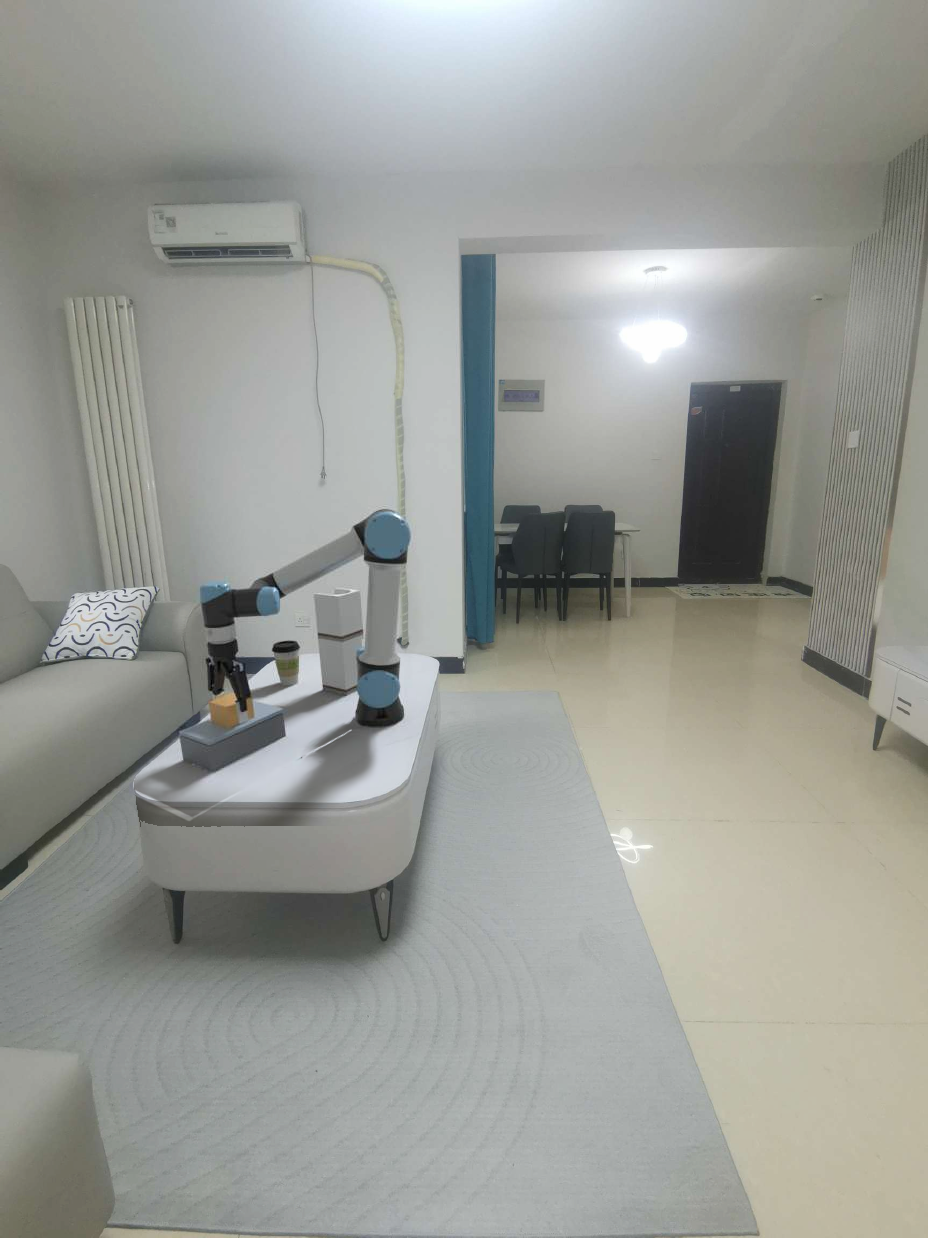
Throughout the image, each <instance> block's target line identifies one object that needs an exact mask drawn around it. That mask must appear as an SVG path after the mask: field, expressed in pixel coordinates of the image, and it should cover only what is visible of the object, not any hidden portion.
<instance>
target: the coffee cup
mask: <svg viewBox="0 0 928 1238" xmlns="http://www.w3.org/2000/svg"><path fill="white" fill-rule="evenodd" d="M300 648H301V647H300V644H299V643H298V641H296V640H281V641H277V642H275V643H273V645H272V648H271V652H273V656H274V662H275V666H276V671H277V673H278V676H279V677H278V678H279V680H280V684H281V685H282V686H285V687H289V685H290V686H294V685H296V683H297V684H299V673H300Z"/></svg>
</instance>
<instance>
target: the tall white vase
mask: <svg viewBox="0 0 928 1238" xmlns="http://www.w3.org/2000/svg"><path fill="white" fill-rule="evenodd" d="M333 590H334V594H328V593H327V594H326V593H319V592H314V593H313V600H314V610H315V622H316V629H317V631H316V632H317V641H318V642H317V643H318V650H319V651H318V652H319V654H318V655H319V662H320V674H321V683H322V686H321V687H322V691H326V692H332V693H335V694H338V695H343V696H348V695H350V694H352V693H355V692H357V675H358V674H357V659H356V652H357V650H358V649H359V648H362V647H363V644H362V643H363V639H365V636H364V626H363V611H362V599H361V598H362V596H361V590H359V589H353V588H352V589H350V588H342V587H334V589H333Z"/></svg>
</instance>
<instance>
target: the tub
mask: <svg viewBox="0 0 928 1238" xmlns="http://www.w3.org/2000/svg"><path fill="white" fill-rule="evenodd" d="M285 724H286V723H285V717H284V712H283V713H280V714H278V715H276V716H274V717H272V718H269V719H267V720H265V721H263V722H261V723H258V724H256V725H254V726H252V727H250V728H247V729H245V730H243V731H241V732H239V733H236V734H234V735H232V736H230V737H228V738H226V739H223V740H221V741H219V742H217V743H215V744H212V745H210V746H209V745H206V744H204V743H201V742H198V741H195V740H193V739H190V738H187V737H184V736H181V735H180V734H179V736H178V737H179V744H180V748H181V754H182V755H181V756H182V758H183V759H182V760H183V761H184V762H186V763H189V764H191V765H194V766H196V767H199V768H201V769H204V770H205V771H206V770H207V771H209V772H211V773H215V772H217V771H219V770H221V769H223V768H225V767H227V766H229V765H231V764H233V763H235V762H237V761H239V760H241V759H243V758H246V757H247V756H249V755H251V754H253V753H255V752H257V751H259V750H261V749H264V748H266V747H267V746H269V745H271V744H274V743H275V742H278V741H279V740H282V739H283V738H285V737H287V734H286V725H285Z"/></svg>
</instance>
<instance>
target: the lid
mask: <svg viewBox="0 0 928 1238" xmlns="http://www.w3.org/2000/svg"><path fill="white" fill-rule="evenodd" d="M236 700H237V698H236V696H235V693H234V691H233V692H231V693H227V694H225V696H222V697H220V698H217V699H215V698H214V699H212V700H210V701H208V707H209V708H208V709H209V714H210V718H208V719H206V720H204V721H201V722H198V723H197V724H194V725H191V726H188V727H187V728H184V729H182V730H179V732H178V733H179V736H180V735H181V736H184V737H187V738H190V739H193V740H195V741H198V742H201V743H204V744H206V745H209V746H210V745H212V744H215V743H217V742H219V741H221V740H223V739H226V738H228V737H230V736H232V735H234V734H236V733H239V732H241V731H243V730H245V729H247V728H250V727H252V726H254V725H256V724H258V723H261V722H263V721H265V720H267V719H269V718H272V717H274V716H276V715H278V714H280V713H283V714H284V708H282V707H278V706H274V705H270V704H267V703H265V702H259V701H257V700H253V697H252V696H251V698H248V699H246V702H247V714H248V721H246V722H244V723H241V724H238V718H237V711H236V704H235V701H236Z"/></svg>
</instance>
